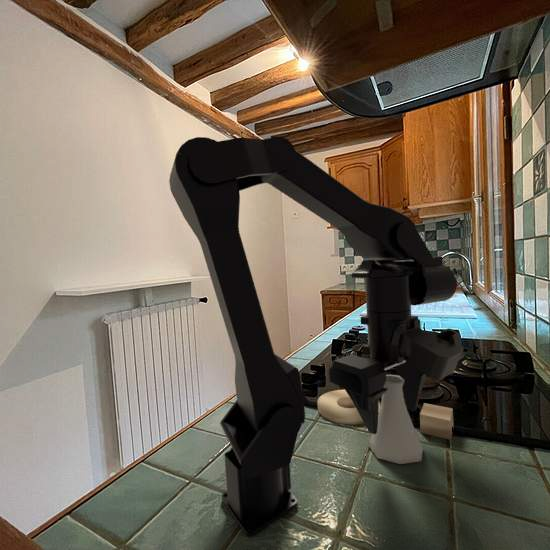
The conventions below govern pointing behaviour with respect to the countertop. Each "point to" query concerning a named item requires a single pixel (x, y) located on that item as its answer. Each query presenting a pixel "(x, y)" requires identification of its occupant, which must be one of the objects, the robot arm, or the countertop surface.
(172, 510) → the countertop surface
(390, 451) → the flask
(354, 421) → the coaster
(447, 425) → the cork block
